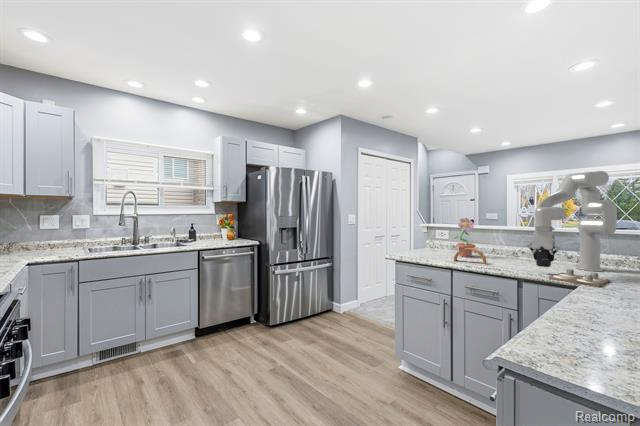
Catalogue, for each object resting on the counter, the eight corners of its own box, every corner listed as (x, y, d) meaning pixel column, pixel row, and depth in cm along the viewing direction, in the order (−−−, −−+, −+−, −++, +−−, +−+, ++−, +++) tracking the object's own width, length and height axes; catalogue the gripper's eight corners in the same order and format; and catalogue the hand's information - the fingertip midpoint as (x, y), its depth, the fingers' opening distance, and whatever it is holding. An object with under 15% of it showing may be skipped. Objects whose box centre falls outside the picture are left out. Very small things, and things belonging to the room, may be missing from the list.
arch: (485, 264, 201) (485, 249, 201) (453, 261, 214) (453, 247, 213) (486, 263, 205) (486, 249, 205) (455, 260, 218) (455, 246, 218)
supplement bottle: (544, 267, 168) (544, 246, 168) (533, 265, 175) (533, 244, 175) (554, 266, 170) (553, 245, 170) (542, 264, 177) (542, 244, 177)
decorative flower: (455, 257, 231) (455, 218, 231) (453, 254, 244) (453, 217, 244) (477, 258, 227) (477, 218, 226) (473, 255, 240) (473, 217, 239)
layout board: (562, 274, 171) (562, 267, 171) (610, 281, 154) (610, 273, 154) (548, 279, 160) (549, 271, 160) (598, 287, 144) (599, 278, 144)
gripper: (564, 229, 167) (564, 261, 168) (528, 228, 181) (529, 257, 182) (559, 230, 163) (559, 263, 163) (523, 229, 177) (523, 259, 178)
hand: (543, 260), depth 173 cm, fingers closed on supplement bottle, 6 cm apart
